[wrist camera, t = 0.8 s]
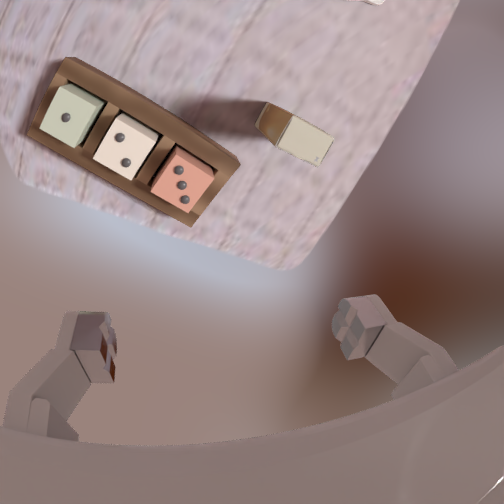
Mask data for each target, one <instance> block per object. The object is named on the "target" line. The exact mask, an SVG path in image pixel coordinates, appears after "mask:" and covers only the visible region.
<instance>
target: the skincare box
mask: <svg viewBox="0 0 504 504" xmlns="http://www.w3.org/2000/svg"><path fill="white" fill-rule="evenodd" d="M255 127H256V128H257V129H258V130H259V131H260V132H261V133H262V134H263V135H264V136H265V137H266V138H267V139H268V140H269V141H270V142H271V143H272V144H273V145H274V146H275V147H276V148H278V149H280V150H282V151H285V152H287V153H289V154H291V155H293V156H295V157H297V158H299V159H301V160H303V161H305V162H307V163H309V164H311V165H314V166H315V167H319V166H320V164H321V162H322V161H323V159H324V158H325V156H326V154H327V152H328V151H329V149H330V147H331V145H332V143H333V142H334V140H335V138H334V137H332V136H331V135H330V134H328V133H326V132H325V131H323V130H322V129H320V128H318V127H316V126H314V125H313V124H311V123H309V122H307V121H305V120H303V119H301V118H299V117H298V116H296V115H294V114H292V113H290V112H288V111H286V110H284V109H282V108H280V107H278V106H276V105H273V104H271V103H269V102H267V103H266V105H265V106H264V108H263V110H262V112H261V113H260V115H259V117H258V119H257V121H256V123H255Z"/></svg>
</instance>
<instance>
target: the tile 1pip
mask: <svg viewBox="0 0 504 504" xmlns="http://www.w3.org/2000/svg"><path fill="white" fill-rule="evenodd" d="M105 104H106V101H104V100H103V99H101V98H99V97H97V96H96V95H94V94H92V93H90V92H88V91H87V90H85V89H83V88H81V87H79V86H78V85H76V84H74V83H73V84H68V85H64V86H60V87H59V89H58V91H57V93H56V95H55V96H54V98H53V100H52V102H51V104H50V106H49V108H48V111H47V113H46V115H45V117H44V119H43V121H42V124H41V126H40V128H39V129H41V130H43V131H45V132H47V133H48V134H50V135H52V136H54V137H55V138H57V139H59V140H61V141H62V142H64V143H66V144H68V145H69V146H71V147H73V148H75V147H76V146H77V145H79V144H80V143H81V142H82V141H83V140H84V139H86V137H87V135H88V133H89V131H90V130H91V128H92V126H93V124H94V122H95V121H96V119H97V117H98V115H99V114H100V112H101V110H102V109H103V107H104V105H105Z"/></svg>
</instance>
